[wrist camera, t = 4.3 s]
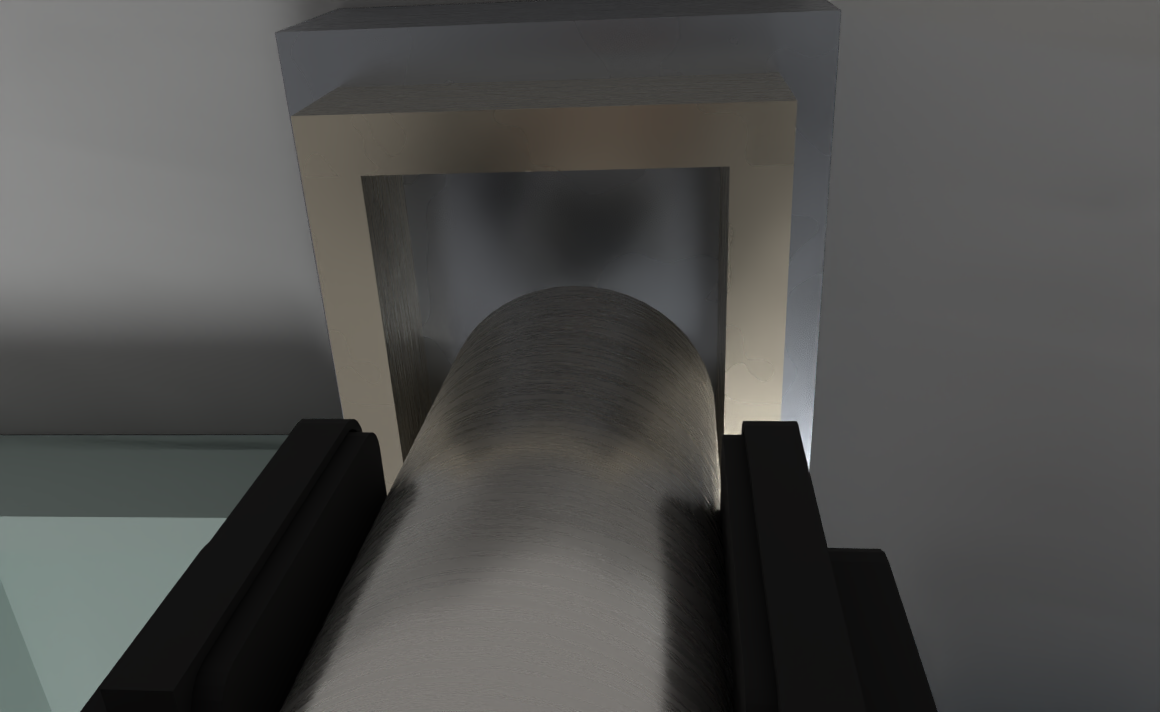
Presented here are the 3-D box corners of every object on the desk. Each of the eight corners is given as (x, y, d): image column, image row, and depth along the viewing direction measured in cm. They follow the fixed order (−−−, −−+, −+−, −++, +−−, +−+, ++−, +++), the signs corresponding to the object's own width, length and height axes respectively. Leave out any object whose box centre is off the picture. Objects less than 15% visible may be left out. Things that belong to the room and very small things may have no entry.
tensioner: (774, 642, 22) (808, 866, 17) (430, 636, 23) (364, 849, 18) (810, -11, 16) (880, 36, 11) (337, 8, 16) (197, 61, 11)
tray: (443, 850, 26) (419, 961, 23) (92, 836, 27) (28, 942, 24) (377, 435, 20) (334, 518, 18) (-66, 435, 21) (-172, 515, 18)
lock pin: (741, 549, 14) (870, 1817, 5) (436, 543, 14) (-1, 1687, 5) (750, 253, 12) (998, 1384, 3) (400, 257, 12) (-393, 1240, 3)
